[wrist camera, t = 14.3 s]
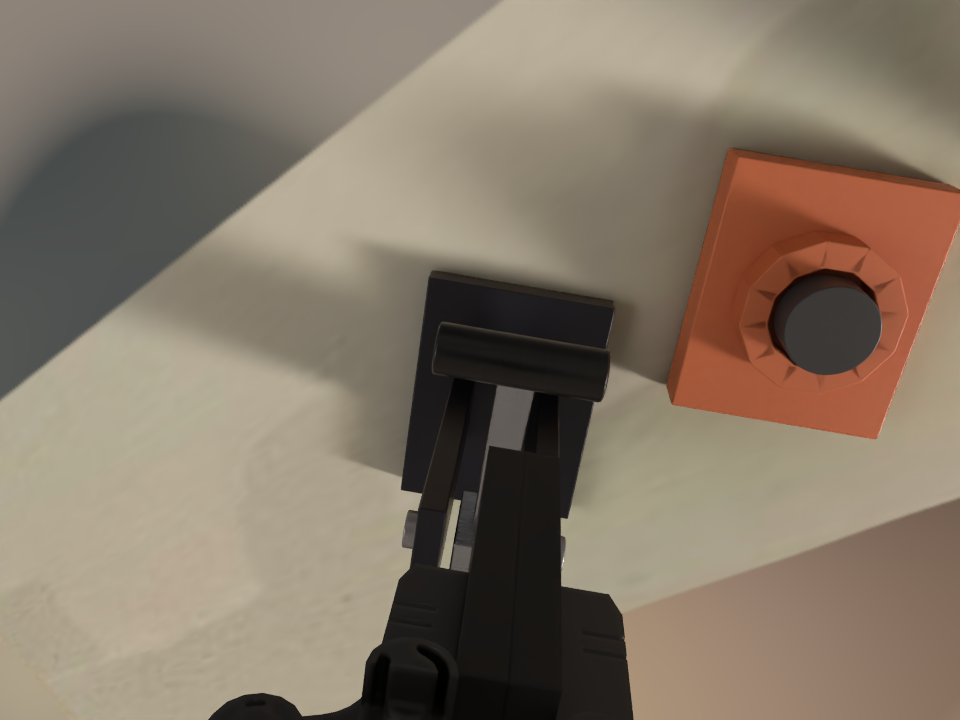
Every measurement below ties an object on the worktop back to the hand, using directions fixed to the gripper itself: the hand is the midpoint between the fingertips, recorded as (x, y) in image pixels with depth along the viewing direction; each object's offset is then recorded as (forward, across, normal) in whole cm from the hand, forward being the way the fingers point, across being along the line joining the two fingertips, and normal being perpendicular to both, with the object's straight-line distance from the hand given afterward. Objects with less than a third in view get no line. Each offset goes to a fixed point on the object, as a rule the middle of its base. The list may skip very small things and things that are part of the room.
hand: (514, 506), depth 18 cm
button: (+21, +13, -1) cm, 24 cm away
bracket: (+24, 0, -9) cm, 26 cm away
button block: (+24, +13, -1) cm, 27 cm away
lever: (+11, 0, -4) cm, 11 cm away
